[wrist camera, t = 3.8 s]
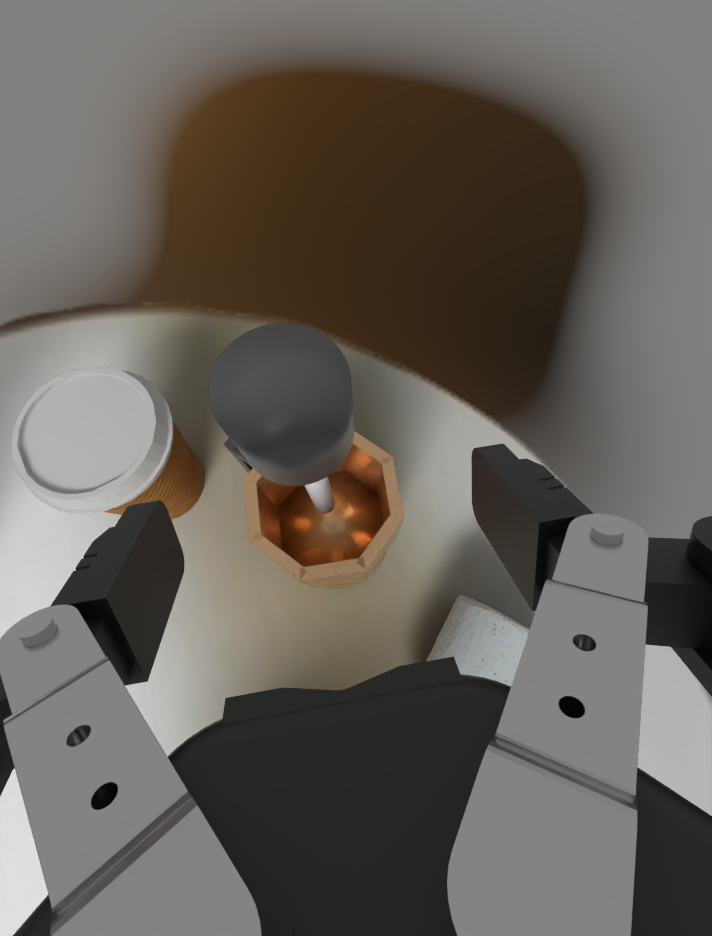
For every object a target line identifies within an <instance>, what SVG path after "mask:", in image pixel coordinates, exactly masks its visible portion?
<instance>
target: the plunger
mask: <svg viewBox="0 0 712 936" xmlns="http://www.w3.org/2000/svg"><path fill="white" fill-rule="evenodd" d="M209 401H210V406H211V409H212V412H213V414H214V416H215V418H216V420H217V422H218V423H219V425H220V426H221V428H222V429H223V430H224V431H225V433H226V434H227V435H228V437H229V438H230V439H231V440H232V442H233V443H234V444H235V446H236V447H237V448H238V449H239V451H240V452H241V453H242V455H243V456H244V457H245V458H246V460H247V461H248V462H249V464H250V465H251V466H252V467H253V468H254V469H255V470H256V471H257V472H258V473H259V474H260V475H261V476H263V477H265V478H266V479H268V480H270V481H272V482H275V483H278V484H281V485H287V486H302V485H304V486H305V488H306V490H307V492H308V494H309V496H310V498H311V500H312V502H313V504H314V506H315V508H316V510H317V511H318V512H319V513H321V514H328V513H330V512H331V511H332V510H333V509H334V507H335V501H334V497H333V494H332V490H331V487H330V483H329V479H328V476H329V475H331V474H332V473H333V472H334V471H336V470H337V469H338V468H339V467H340V465H341V464H342V463H343V462H344V460H345V459H346V457H347V456H348V454H349V452H350V449H351V446H352V443H353V438H354V419H353V403H352V387H351V375H350V370H349V366H348V364H347V361H346V359H345V357H344V355H343V353H342V352H341V350H340V349H339V348H338V347H337V345H336V344H335V343H334V342H333V341H332V340H331V339H329V338H328V337H327V336H325V335H324V334H322V333H321V332H319V331H317V330H315V329H312V328H310V327H307V326H303V325H300V324H293V323H276V324H269V325H264V326H261V327H258V328H255V329H253V330H250V331H248V332H246V333H245V334H243V335H241V336H240V337H238V338H237V339H236V340H234V341H233V342H232V343H231V344H230V345H229V346H228V347H227V348H226V349H225V350H224V351H223V352H222V354H221V355H220V357H219V358H218V360H217V361H216V363H215V365H214V368H213V370H212V373H211V376H210V381H209Z"/></svg>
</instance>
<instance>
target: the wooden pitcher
mask: <svg viewBox="0 0 712 936" xmlns="http://www.w3.org/2000/svg"><path fill="white" fill-rule="evenodd" d="M224 445H225V446H226V447H227V448H228V450H229V451H230V452H231V453H232V454H233V456H234V457H235V458H236V459H237V460H238V462H239V463H240V464H241V465H242V466H243V468H244V469H245V470H246V471H247V472H248V475H247V476H246V477H245V478H244V492H245V504H246V515H247V527H248V539H249V542H250V543H251V544H252V545H254V546H255V547H256V548H257V549H259V550H260V551H261V552H263V553H264V554H265V555H266V556H268V557H269V558H270V559H272V560H273V561H274V562H276V563H277V564H278V565H279V566H281V567H282V568H283V569H285V570H286V571H287V572H288V573H290V574H291V575H292V576H294V577H295V578H296V579H298V580H299V581H301V582H303V583H305V584H307V585H309V586H311V587H313V588H317V587H326V588H344V587H348V586H352V585H354V584H357V583H359V582H361V581H363V580H366V579H367V578H368V577H369V576H370V575H371V574H372V573H373V572H374V571H375V570H376V569H377V567H378V566H379V565H380V563H381V562H382V560H383V558H384V556H385V553H386V551H387V549H388V548H389V547H390V545H391V544H392V542H393V541H394V539H395V538H396V536H397V534H398V531H399V529H400V526H401V524H402V521H403V519H404V514H403V508H402V503H401V498H400V493H399V487H398V482H397V477H396V471H395V466H394V461H393V457H392V456H391V455H390V454H388V453H387V452H385V451H384V450H382V449H381V448H379V447H378V446H376V445H375V444H373V443H372V442H370V441H369V440H367V439H366V438H364V437H363V436H361V435H360V434H358V433H357V432H355V431H354V438H353V443H352V446H351V449H350V452H349V454H348V456H347V457H346V459H345V460H344V462H343V463H342V464H341V465H340V467H339V468H338V469H337V470H336V471H334V472H333V473H332V474H331V475H329V476H328V479H329V483H330V487H331V490H332V494H333V497H334V501H335V507H334V509H333V510H332V511H331V512H330V513H328V514H321V513H319V512H318V511H317V510H316V508H315V506H314V504H313V502H312V500H311V498H310V496H309V494H308V492H307V490H306V488H305V486H304V485H302V486H287V485H281V484H278V483H275V482H272V481H270V480H268V479H266V478H265V477H263V476H261V475H260V474H259V473H258V472H257V471H256V470H255V469H254V468H253V467H252V466H251V465H250V464H249V462H248V461H247V460H246V458H245V457H244V456H243V455H242V453H241V452H240V451H239V449H238V448H237V447H236V446H235V444H234V443H233V442H232V440H231V439H230V438H229V439H228V440H227V441H226V442H225V443H224Z"/></svg>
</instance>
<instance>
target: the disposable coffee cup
mask: <svg viewBox="0 0 712 936" xmlns="http://www.w3.org/2000/svg"><path fill="white" fill-rule="evenodd" d="M11 453H12V458H13V462H14V465H15V467H16V469H17V472H18V473H19V475H20V476H21V478H22V479H23V480H24V482H25V483H26V485H27V487H28V488H29V489H30V491H31V492H32V493H33V494H34V495H35V496H36V497H37V498H38V499H40V500H41V501H42V502H43V503H45V504H47V505H49V506H50V507H53V508H55V509H58V510H60V511H65V512H70V513H80V514H88V513H96V512H109V513H114V514H120V515H122V514H123V513H124V511H125V510H126V508H127V507H128V506H129V505H133V504H139V503H145V502H151V501H157V500H161V501H162V502H163V503H164V504H165V506H166V508H167V510H168V513H169V516H170V518H171V519H174V518H177V517H179V516H181V515H183V514H185V513H186V512H187V511H189V510H190V509H191V508H192V507H193V506H194V505H195V503H196V502H197V501H198V499H199V497H200V495H201V492H202V489H203V485H204V474H203V470H202V467H201V465H200V464H199V462H198V460H197V459H196V457H195V456H194V454H193V453H192V451H191V449H190V448H189V446H188V445H187V443H186V442H185V440H184V438H183V437H182V435H181V433H180V432H179V430H178V429H177V427H176V426H175V424H174V422H173V420H172V415H171V412H170V408H169V405H168V404H167V402H166V401H165V399H164V397H163V396H162V394H161V392H160V391H159V390H158V389H157V388H156V387H155V386H154V385H153V384H152V383H151V382H149V381H147V380H146V379H144V378H143V377H141V376H139V375H136V374H134V373H131V372H128V371H123V370H118V369H114V368H111V367H104V366H89V367H82V368H77V369H73V370H71V371H68V372H65V373H63V374H60V375H58V376H56V377H55V378H53V379H52V380H50V381H49V382H47V383H46V384H44V385H43V386H42V387H40V388H39V389H38V390H37V391H36V392H35V393H34V394H33V395H32V396H31V397H30V399H29V400H28V401H27V402H26V404H25V405H24V406H23V408H22V410H21V412H20V413H19V415H18V417H17V419H16V422H15V425H14V428H13V433H12V439H11Z"/></svg>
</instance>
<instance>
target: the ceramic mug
mask: <svg viewBox="0 0 712 936" xmlns="http://www.w3.org/2000/svg"><path fill="white" fill-rule="evenodd" d="M529 630H530V629H528V628H527V627H525V626H523V625H522V624H520V623H518V622H516V621H514V620H512V619H511V618H509V617H507V616H506V615H504V614H502V613H500V612H499V611H497V610H495V609H493V608H491V607H489V606H487V605H485V604H482V603H480V602H478V601H476V600H474V599H472V598H469V597H466V596H461V595H460V596H458V597H457V599H456V601H455V602H454V604H453V607H452V609H451V611H450V613H449V615H448V617H447V619H446V621H445V623H444V625H443V627H442V629H441V631H440V633H439V635H438V637H437V639H436V642H435V644H434V646H433V649H432V650H431V652H430V654H429V656H428V658H427V660H426V661H432V660H437V659H442V658H448V657H453V656H454V658H455V661H456V664H457V666H458V669H459V672H460V674H462V675H472V676H478V677H484V678H487V679H491V680H495V681H498V682H501V683H503V684H506V685H508V686H512V683H513V680H514V676H515V673H516V670H517V667H518V664H519V661H520V658H521V655H522V652H523V649H524V646H525V643H526V640H527V637H528V633H529Z"/></svg>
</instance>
